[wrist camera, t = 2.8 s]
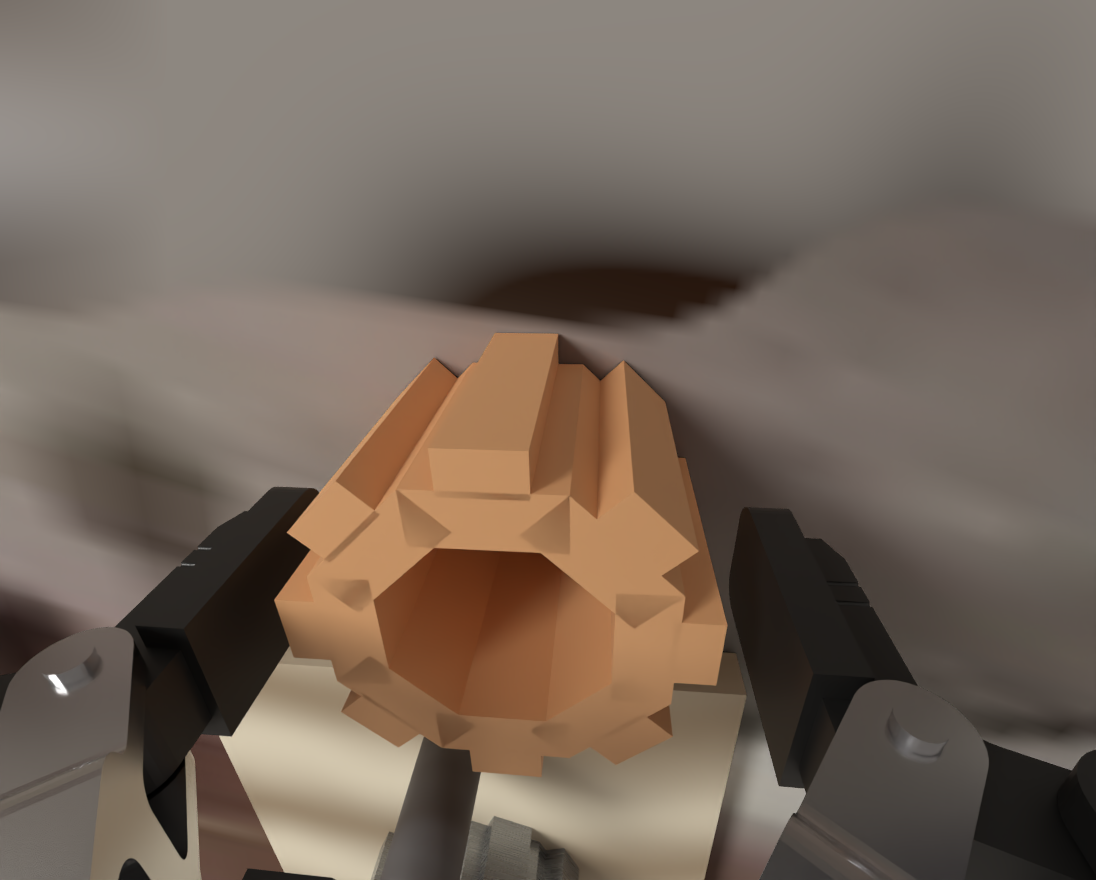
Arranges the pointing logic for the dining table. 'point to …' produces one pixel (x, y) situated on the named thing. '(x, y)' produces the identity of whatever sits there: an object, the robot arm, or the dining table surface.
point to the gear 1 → (511, 565)
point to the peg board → (562, 807)
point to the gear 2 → (503, 855)
